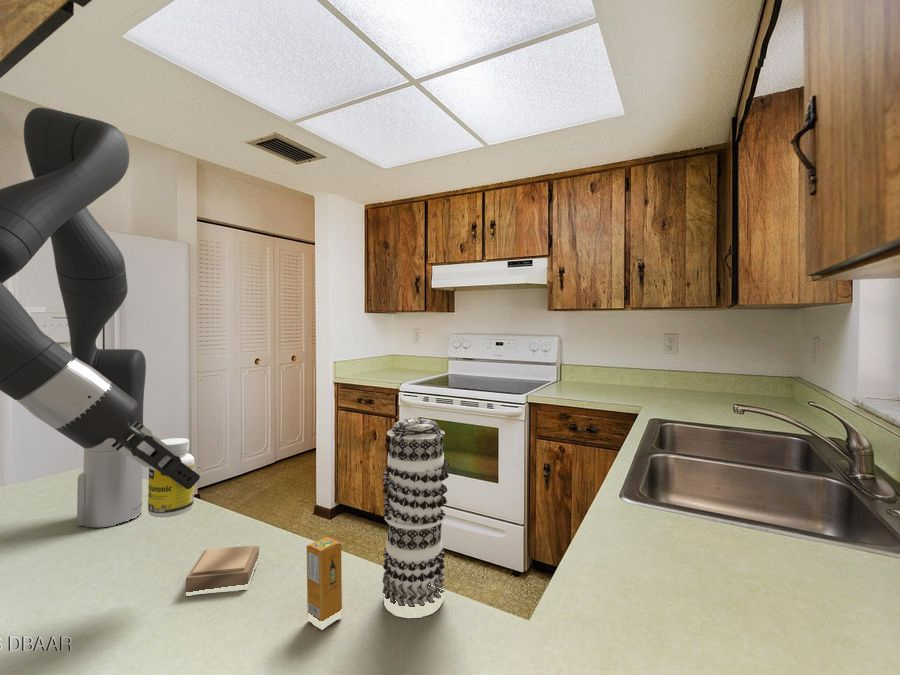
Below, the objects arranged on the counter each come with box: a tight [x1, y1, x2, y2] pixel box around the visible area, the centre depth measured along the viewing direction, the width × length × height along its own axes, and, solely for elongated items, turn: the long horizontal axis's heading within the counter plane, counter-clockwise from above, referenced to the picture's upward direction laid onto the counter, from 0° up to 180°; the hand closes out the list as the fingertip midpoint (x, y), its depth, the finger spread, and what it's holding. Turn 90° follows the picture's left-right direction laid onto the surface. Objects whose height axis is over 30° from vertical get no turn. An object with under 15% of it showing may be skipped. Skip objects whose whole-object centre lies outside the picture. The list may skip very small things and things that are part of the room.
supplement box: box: [306, 536, 343, 621], centre depth 56 cm, size 3×3×10 cm
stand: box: [185, 545, 260, 593], centre depth 66 cm, size 8×8×3 cm
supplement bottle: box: [147, 437, 195, 518], centre depth 61 cm, size 5×5×10 cm
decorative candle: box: [382, 417, 450, 607], centre depth 61 cm, size 9×9×25 cm
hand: (186, 477), depth 63 cm, fingers closed on supplement bottle, 5 cm apart
